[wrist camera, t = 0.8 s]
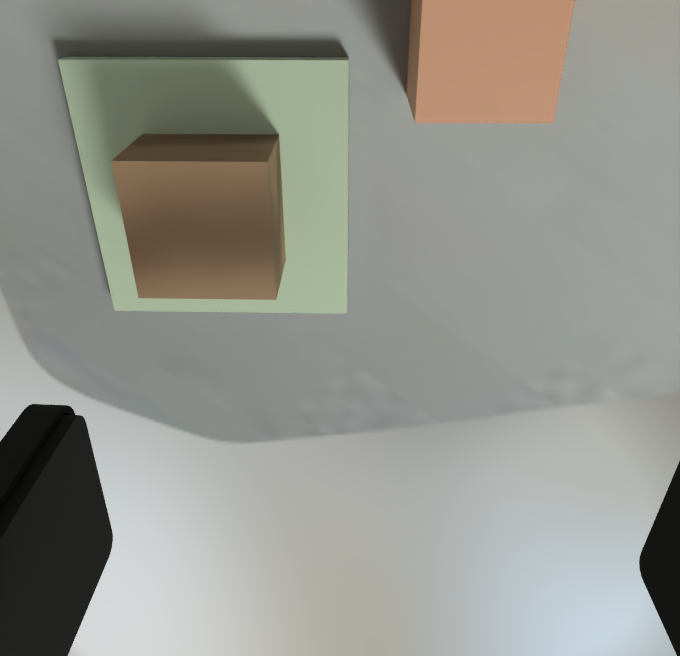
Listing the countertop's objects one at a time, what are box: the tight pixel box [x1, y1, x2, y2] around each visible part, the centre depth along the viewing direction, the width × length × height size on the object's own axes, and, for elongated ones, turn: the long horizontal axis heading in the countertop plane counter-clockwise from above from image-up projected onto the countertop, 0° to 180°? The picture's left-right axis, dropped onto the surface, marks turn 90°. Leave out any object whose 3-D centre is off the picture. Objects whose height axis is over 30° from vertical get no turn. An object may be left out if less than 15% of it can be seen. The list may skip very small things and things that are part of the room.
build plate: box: [58, 57, 349, 313], centre depth 29 cm, size 12×12×1 cm
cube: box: [406, 0, 575, 123], centre depth 23 cm, size 5×5×5 cm
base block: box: [111, 134, 286, 300], centre depth 27 cm, size 6×6×4 cm
